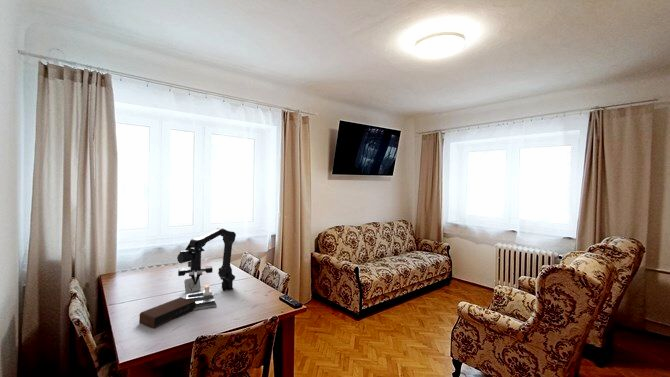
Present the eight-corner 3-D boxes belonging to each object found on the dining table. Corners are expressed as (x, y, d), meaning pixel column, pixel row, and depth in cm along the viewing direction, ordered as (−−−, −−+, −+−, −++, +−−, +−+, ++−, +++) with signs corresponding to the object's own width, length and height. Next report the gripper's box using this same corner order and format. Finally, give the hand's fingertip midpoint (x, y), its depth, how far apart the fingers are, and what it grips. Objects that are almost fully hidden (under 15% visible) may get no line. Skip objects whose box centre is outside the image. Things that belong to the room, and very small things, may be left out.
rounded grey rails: (216, 304, 170) (216, 302, 170) (216, 307, 167) (216, 305, 167) (184, 309, 163) (184, 307, 163) (184, 312, 159) (184, 310, 159)
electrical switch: (186, 294, 184) (186, 279, 185) (183, 293, 188) (182, 278, 188) (201, 290, 192) (200, 276, 192) (197, 289, 195) (197, 275, 195)
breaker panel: (213, 293, 187) (213, 287, 187) (215, 303, 171) (215, 298, 171) (185, 297, 180) (185, 291, 180) (185, 308, 164) (185, 302, 164)
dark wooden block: (153, 329, 141) (154, 318, 141) (139, 324, 146) (139, 312, 146) (195, 311, 162) (195, 300, 162) (181, 306, 167) (181, 296, 167)
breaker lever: (210, 294, 180) (210, 284, 180) (210, 296, 176) (211, 286, 176) (202, 295, 178) (203, 285, 178) (203, 297, 174) (203, 287, 174)
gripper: (211, 255, 185) (211, 278, 185) (179, 257, 177) (178, 282, 177) (212, 259, 175) (212, 284, 175) (178, 262, 167) (177, 288, 167)
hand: (195, 284), depth 174 cm, fingers closed
